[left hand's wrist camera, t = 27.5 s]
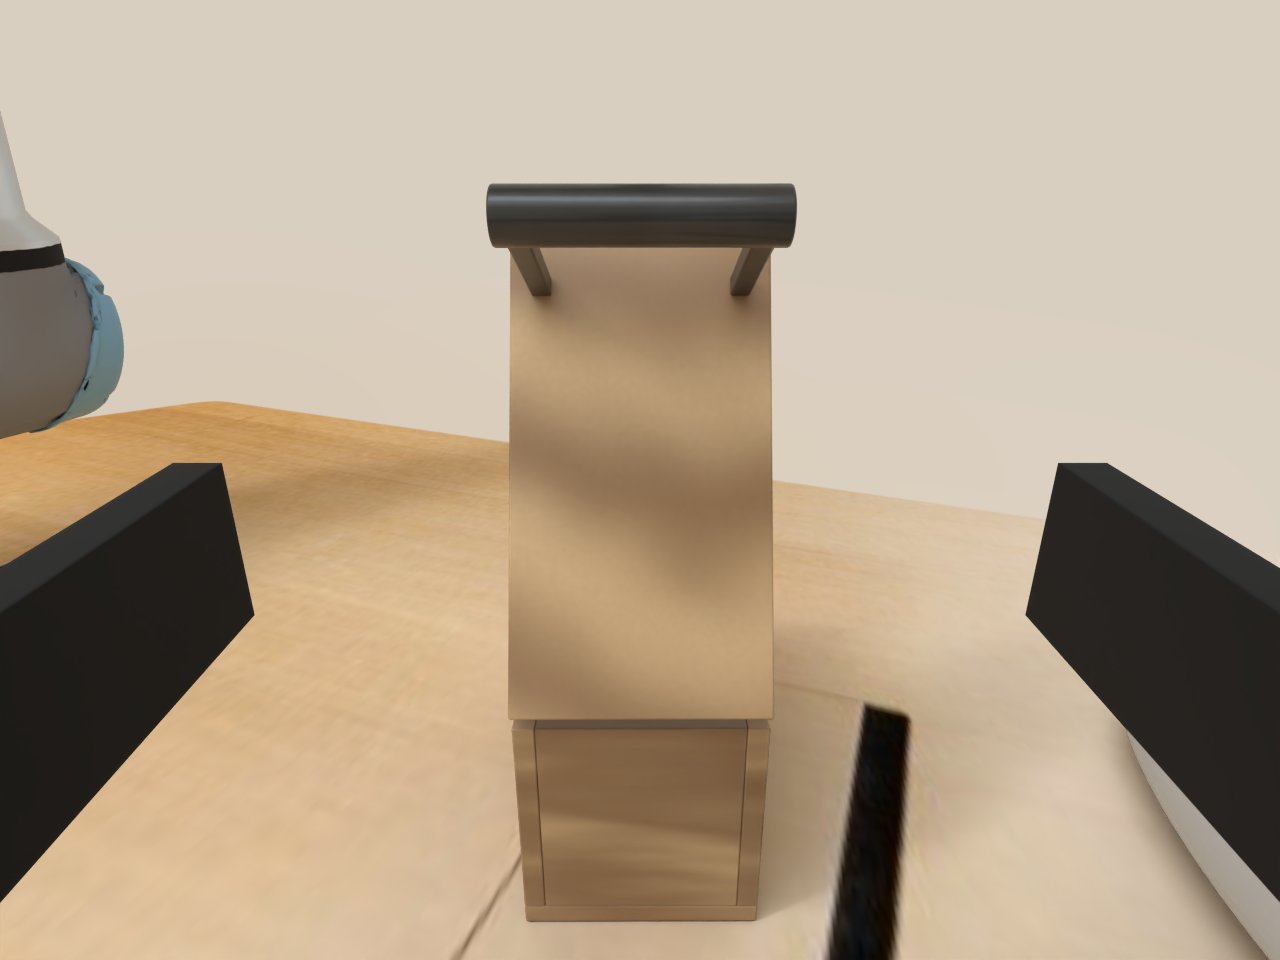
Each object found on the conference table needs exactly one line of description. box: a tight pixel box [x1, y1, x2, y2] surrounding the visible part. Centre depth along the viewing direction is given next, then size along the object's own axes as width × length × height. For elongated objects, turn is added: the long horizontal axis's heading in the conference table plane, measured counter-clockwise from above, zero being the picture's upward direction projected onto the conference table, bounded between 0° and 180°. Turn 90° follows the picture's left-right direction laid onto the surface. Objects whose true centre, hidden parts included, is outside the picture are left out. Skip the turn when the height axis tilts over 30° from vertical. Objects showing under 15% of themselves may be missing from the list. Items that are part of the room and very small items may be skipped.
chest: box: [512, 719, 770, 921], centre depth 37 cm, size 17×9×10 cm, turn 0°
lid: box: [486, 184, 797, 720], centre depth 23 cm, size 17×9×8 cm
